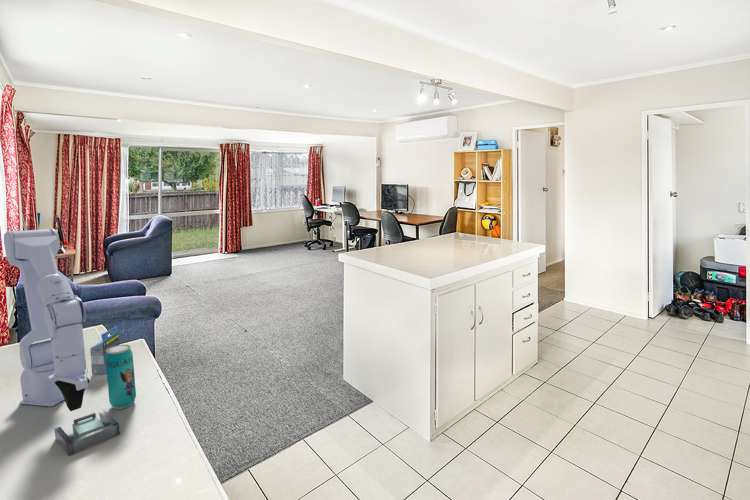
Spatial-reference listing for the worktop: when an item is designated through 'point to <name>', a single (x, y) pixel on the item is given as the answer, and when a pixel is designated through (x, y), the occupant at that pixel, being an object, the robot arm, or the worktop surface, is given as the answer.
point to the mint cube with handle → (86, 425)
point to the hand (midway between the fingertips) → (75, 408)
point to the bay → (88, 435)
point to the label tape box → (103, 351)
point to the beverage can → (120, 376)
